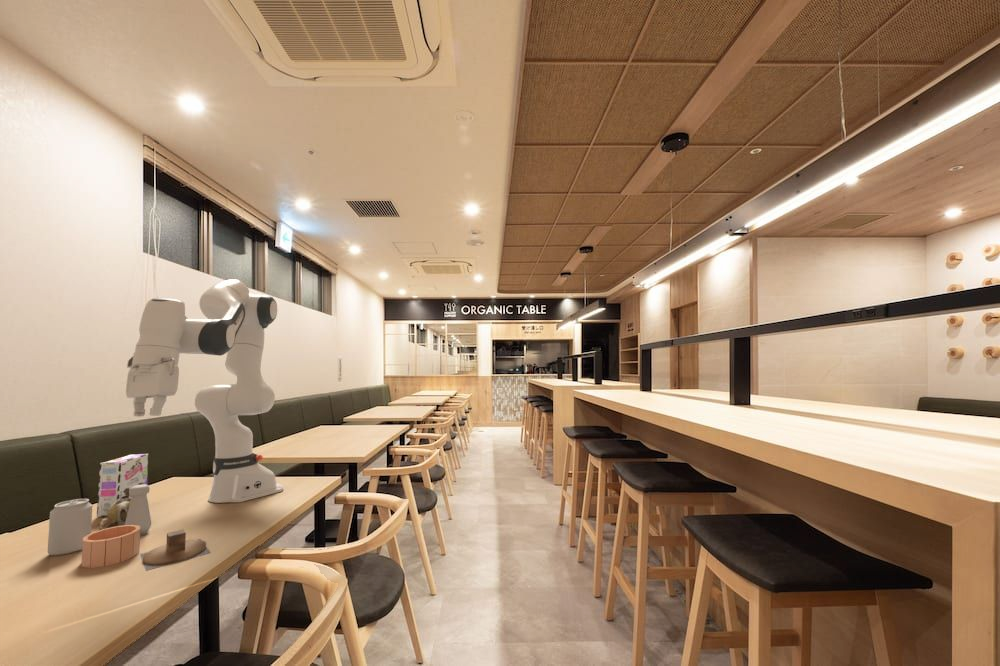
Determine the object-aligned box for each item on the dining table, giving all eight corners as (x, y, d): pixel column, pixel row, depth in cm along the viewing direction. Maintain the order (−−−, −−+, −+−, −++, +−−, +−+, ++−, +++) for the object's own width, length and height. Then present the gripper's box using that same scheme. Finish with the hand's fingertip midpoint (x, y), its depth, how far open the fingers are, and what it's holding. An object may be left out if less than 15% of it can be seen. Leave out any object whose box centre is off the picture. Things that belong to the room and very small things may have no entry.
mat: (200, 540, 110) (200, 538, 110) (210, 554, 102) (210, 552, 102) (140, 555, 102) (140, 554, 102) (146, 572, 93) (146, 570, 93)
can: (40, 560, 100) (43, 508, 101) (57, 548, 107) (60, 499, 108) (81, 554, 103) (84, 503, 104) (96, 542, 110) (98, 495, 111)
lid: (200, 538, 110) (200, 520, 111) (210, 552, 102) (211, 532, 102) (140, 554, 102) (141, 533, 102) (146, 570, 93) (147, 547, 94)
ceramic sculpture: (147, 485, 132) (150, 499, 120) (146, 513, 131) (149, 530, 120) (100, 493, 124) (98, 508, 113) (99, 523, 124) (97, 541, 113)
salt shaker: (134, 539, 112) (136, 489, 113) (117, 538, 113) (119, 488, 114) (156, 530, 117) (158, 483, 118) (139, 529, 119) (141, 482, 120)
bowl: (136, 546, 107) (137, 521, 108) (141, 558, 100) (142, 532, 101) (81, 559, 100) (82, 533, 101) (81, 573, 93) (83, 545, 94)
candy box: (117, 516, 130) (120, 461, 131) (95, 518, 129) (98, 462, 130) (147, 502, 143) (149, 452, 145) (127, 503, 143) (130, 453, 144)
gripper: (190, 357, 104) (181, 415, 101) (154, 364, 114) (145, 417, 111) (159, 354, 98) (148, 414, 95) (124, 361, 109) (114, 416, 106)
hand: (146, 416), depth 103 cm, fingers open, 8 cm apart
